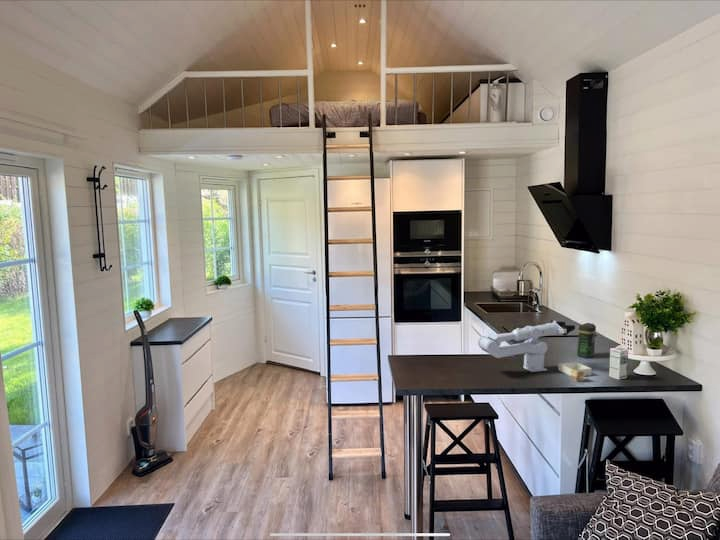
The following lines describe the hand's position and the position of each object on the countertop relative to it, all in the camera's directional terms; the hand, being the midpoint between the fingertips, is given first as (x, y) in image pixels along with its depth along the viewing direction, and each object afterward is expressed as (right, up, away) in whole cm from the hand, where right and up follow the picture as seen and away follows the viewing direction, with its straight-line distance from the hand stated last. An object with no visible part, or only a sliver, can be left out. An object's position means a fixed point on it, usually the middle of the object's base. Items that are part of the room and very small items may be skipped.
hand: (569, 325), depth 262 cm
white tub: (-1, -23, -8) cm, 24 cm away
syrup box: (+17, -24, -15) cm, 33 cm away
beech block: (-4, -24, -19) cm, 31 cm away
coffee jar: (+17, -20, +20) cm, 33 cm away
